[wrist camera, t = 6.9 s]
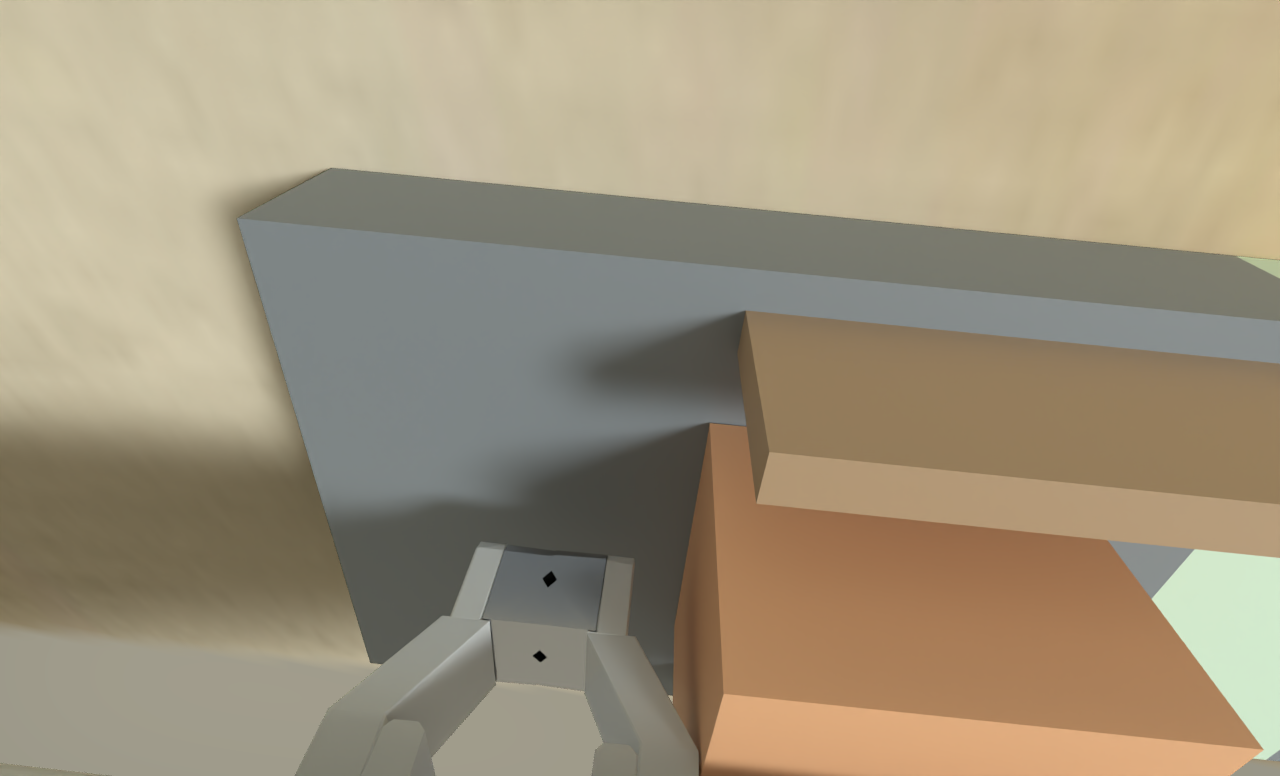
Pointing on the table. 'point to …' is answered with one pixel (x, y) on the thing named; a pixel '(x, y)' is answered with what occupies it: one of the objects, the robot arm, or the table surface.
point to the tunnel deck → (768, 393)
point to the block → (926, 649)
